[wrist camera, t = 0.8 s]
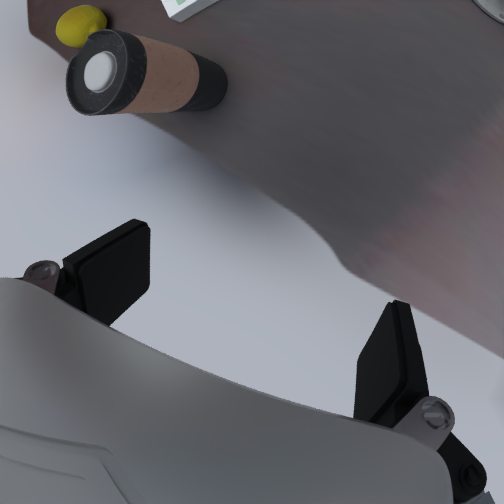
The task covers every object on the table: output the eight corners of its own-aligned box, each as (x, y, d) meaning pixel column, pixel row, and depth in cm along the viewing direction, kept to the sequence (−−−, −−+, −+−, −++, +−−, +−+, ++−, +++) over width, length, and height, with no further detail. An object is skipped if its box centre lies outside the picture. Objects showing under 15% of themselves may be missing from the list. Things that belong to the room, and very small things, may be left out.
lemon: (125, 17, 32) (90, 8, 25) (102, 57, 36) (67, 54, 29) (91, 3, 32) (59, -4, 25) (72, 39, 36) (39, 36, 29)
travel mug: (224, 115, 36) (121, 118, 18) (174, 110, 37) (60, 117, 20) (234, 60, 32) (136, 20, 15) (182, 58, 34) (71, 35, 16)
